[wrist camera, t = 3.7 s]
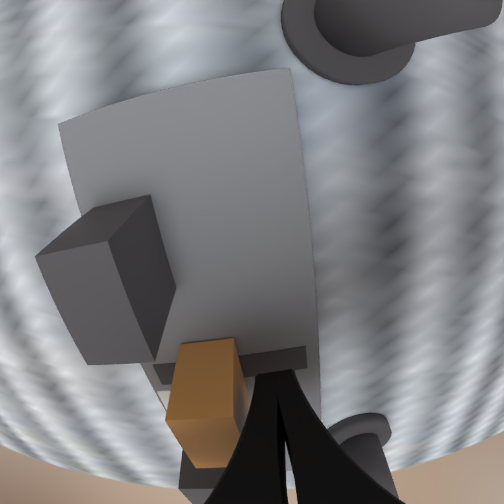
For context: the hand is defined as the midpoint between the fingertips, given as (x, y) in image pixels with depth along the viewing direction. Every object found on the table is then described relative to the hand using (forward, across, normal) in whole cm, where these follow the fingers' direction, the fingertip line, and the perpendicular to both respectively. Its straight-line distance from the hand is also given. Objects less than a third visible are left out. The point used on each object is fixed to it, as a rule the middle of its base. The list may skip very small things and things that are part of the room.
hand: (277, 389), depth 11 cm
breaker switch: (+1, +2, 0) cm, 3 cm away
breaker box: (+4, +2, 0) cm, 5 cm away
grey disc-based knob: (+4, -5, -12) cm, 14 cm away
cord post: (+4, -5, +12) cm, 14 cm away
